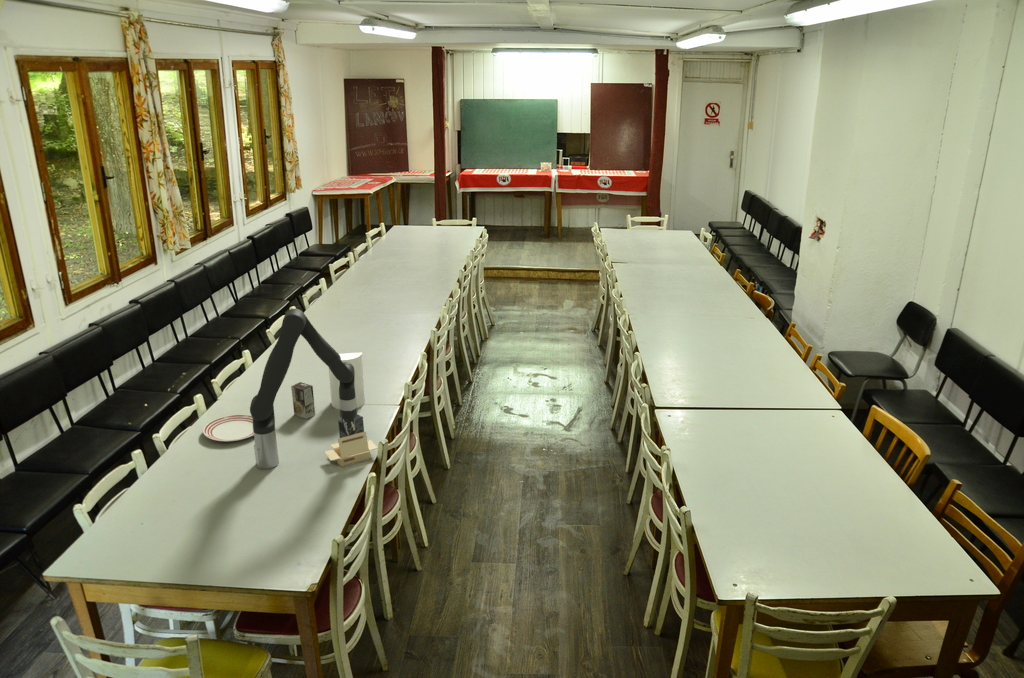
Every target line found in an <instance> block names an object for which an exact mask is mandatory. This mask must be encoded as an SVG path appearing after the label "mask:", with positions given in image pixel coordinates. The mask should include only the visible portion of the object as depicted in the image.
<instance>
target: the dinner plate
mask: <svg viewBox="0 0 1024 678" xmlns="http://www.w3.org/2000/svg"><path fill="white" fill-rule="evenodd" d="M202 431H203V435H204V437H206V438H208V439H210V440H213V441H216V442H217V441H218V442H228V443H229V442H236V441H242V440H246V439H248V438H250V437H254V432H253V417H252V416H251V414H246V413H245V414H243V413H242V414H241V413H240V414H238V413H237V414H230V415H229V414H228V415H223V416H220V417H218V418H215V419H213V420H210V421H209V422H208V423H206V425H204V427H203V429H202Z"/></svg>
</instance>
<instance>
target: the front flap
mask: <svg viewBox="0 0 1024 678" xmlns="http://www.w3.org/2000/svg"><path fill="white" fill-rule="evenodd" d="M367 441H368V436H367V432H366V431H364V432H362V433H358V434H354V435H350V436H346V437H342V438H340V437H339V438H337V443H339V448H340V453H341V458H345V457H349V456H352V455H356V454H360V453H364V452H367V451H369V447H368V442H367Z"/></svg>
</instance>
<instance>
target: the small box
mask: <svg viewBox="0 0 1024 678" xmlns="http://www.w3.org/2000/svg"><path fill="white" fill-rule="evenodd" d="M354 420H355V424H354V427H357V430H356V432H355V434H358V433H362V432H365V428H364V427H365V426H364V417H363V416H362V415H360V414H358V413H357V416H356V417H355V418H354ZM337 422H338V434H339V438H342V437H346V436H347V433H346V430H345V428H344V425H343V421H342V418H341V419H340V420H337ZM353 435H354V434H353Z"/></svg>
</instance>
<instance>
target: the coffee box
mask: <svg viewBox="0 0 1024 678" xmlns="http://www.w3.org/2000/svg"><path fill="white" fill-rule="evenodd" d="M290 387H291V388H290V389H291V398H292V407H293V415H294V416H297V417H300V418H303V419H305V420H308V419H309V418H311V417H313V416H315V415H316V410H315V398H314V397H315V396H314V388H313V387H314V386H313V385H312V384H308V383H305V382H303V381H302V382H301V381H300V382H297V383H295V384H294V385H291V386H290Z"/></svg>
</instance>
